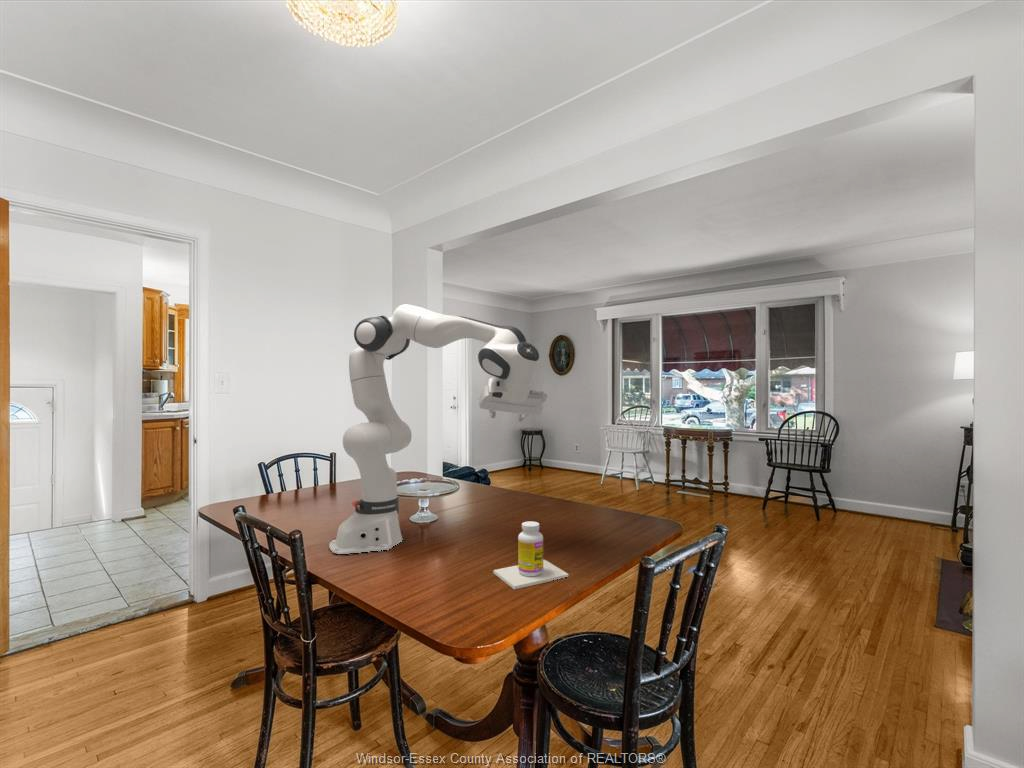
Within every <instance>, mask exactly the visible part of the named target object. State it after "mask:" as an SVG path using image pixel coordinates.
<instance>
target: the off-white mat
mask: <svg viewBox="0 0 1024 768" xmlns="http://www.w3.org/2000/svg"><path fill="white" fill-rule="evenodd" d="M493 574H494V575H495V576H497V577H498V578H499V579H500V580H501V581H503V582H504V583H506V584H507V586H509V587H511V588H512V589H513V590H519V589H523V588H527V587H532V586H535V585H540V584H545V583H549V582H554V581H557V579H558V580H562V579H565V577H567V578H569V575H570V574H569V573H567V572H566V571H564V570H563V569H561V568H559V567H558V566H556V565H555V564H553V563H551V562H549V561H548V560H546V559H543V572H542V573H541V574H540V575H537V576H525V575H522V574H520V573H519V571H518V565H512V566H507V567H502V568H497V569H493ZM561 578H562V579H561ZM553 580H554V581H553Z"/></svg>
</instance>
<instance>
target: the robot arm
mask: <svg viewBox="0 0 1024 768" xmlns="http://www.w3.org/2000/svg"><path fill="white" fill-rule="evenodd" d="M353 338H354V341H355V343H356V344H357V345H358V346H359V347H356V348H354V349H353V350H352V351H351V352H350V353H349V355H348V356H349V357H348V372H349V374H348V375H349V380H350V386H351V392H352V399H353V403H354V405H355V407H356V408H357V410H359V411H360V412H361V413H363V415H364V416H365V418H366V419H367V421H368V422H360V423H358V424H355V425H353V426H350V427H348V428H347V429H346V430H345V432H344V434H343V437H342V446H343V449H344V451H345V453H346V454H347V455H348V456H349V457H350V458H352V460H353V461H354V462H355V464H356V466H357V468H358V472H359V474H360V483H361V484H360V486H361V499H359V500H357V499H353V500H352V501H351V505H352V506H353V507H354V509H355V512H354V513H352V514H351V515H350V516H349V517H348V518H347V519H346V520H344V521H343V522H342V523H340V525H339V526H338V529H337V532H336V533H337V534H336V539H332V541H330V542H329V545H328V549H329V548H330V550H331V551H332V552H334V553H337V554H349V553H359V554H362V553H361V552H368V553H371V552H370V551H378V552H384V551H383V550H387V551H390V550H391V549H392V548H393V546H394V547H396V546H398V545H400V544H401V543H403V541H402V540H404V539H403V535H402V532H401V531H402V530H401V528H400V527H401V526H400V522H399V514H400V512H399V511H400V500H399V497H398V473H397V472H396V471H395V470H394V469H393V468H391V467H390V465H389V464H388V460H387V455H388V454H394V453H398V452H400V451H401V450H403V449H405V448H407V447H408V446H409V445H410V444H411V442H412V430H411V428H410V426H409V424H408V423H406V422H405V421H403V420H402V418H401V417H400V416H399V414H398V413H397V411H396V408H395V407H394V405H393V403H392V400H391V397H390V392H389V390H388V385H387V384H388V383H387V380H386V374H385V373H386V372H385V370H384V362H385V361H386V360H388V361H390V360H392V359H394V358H395V357H396V356H399V355H401V354H402V353H404V352H406V351H407V349H408V348H409V346H410V343H411V341H413V342H414V343H417V344H420V345H422V346H424V347H428V348H433V349H439V348H443V347H445V346H447V345H449V344H451V343H454V342H456V341H460V340H464V339H473V340H477V341H480V342H484V343H486V344H485V345H483V347H482V348H481V349H480V350H479V352H478V353H477V361H478V363H479V366H480V368H481V369H482V370H483V371H484V372H485V373H487V374H488V375H490V376H493V377H490V378H488V379H487V380H488V381H487V385H485V386H484V387H483V389H482V391H481V394H480V397H479V399H478V400H479V401H478V404H479V408H480V409H481V410H488V412H489V415H490V418H491V419H496V417H497V414H496V411H497V412H503V413H504V412H505V413H512V414H519V415H518V422H522V423H523V422H524V420H525V419H526V418H528V417H529V416H540V415H541V414H542V411H543V407H544V403H545V402H546V400H547V398H548V395H547V394H546V393H544V391H541V390H540V391H537V390H534V389H533V390H532V386H533V381H534V379H535V378H536V377H537V376H536V375H537V374H538V369H539V365H540V359H541V358H540V357H541V356H540V353H539V350H538V349H537V347H536V346H535V345H534V344H532V343H530V342H527V339H526V337H525V334H523V332H522V331H521V330H520V329H519V328H517V327H515V326H512V325H498V324H494V323H489V322H485V321H483V320H478V319H475V318H470V317H467V316H461V315H449V314H443V313H439V312H436V311H434V310H431V309H429V308H424V307H421V306H418V305H414V304H407V303H406V304H400V305H399V306H397V307H396V308H395V309H394V311H393V313H392V314H391V316H390V317H387V316H386V315H380V316H379V315H378V316H374V317H367V318H364V319H361V320H360V321H359V322H358V323H357V324H356V325H355V327H354V330H353ZM400 542H401V543H400ZM399 543H400V544H399ZM397 544H398V545H397ZM395 545H396V546H395ZM389 549H390V550H389ZM330 550H329V551H330ZM381 550H382V551H381ZM331 551H330V552H331ZM332 552H331V553H332ZM349 555H350V554H349Z"/></svg>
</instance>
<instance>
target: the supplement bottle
mask: <svg viewBox="0 0 1024 768" xmlns="http://www.w3.org/2000/svg"><path fill="white" fill-rule="evenodd" d="M521 530H522V531H521V532H520V533H519V534H518V536H517V540H518V541H517V548H518V549H517V550H518V551H517V553H518V554H517V556H518V557H517V558H518V560H517V561H518V562H517V563H518V571H519V573H520V574H522V575H525V576H537V575H540V574H541V573H542V572H543V560H544V535H543V534H542V533H541V532H540V531H539V530H540V523H539V522H537V521H533V520H532V521H529V520H528V521H523V522H522V523H521Z"/></svg>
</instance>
